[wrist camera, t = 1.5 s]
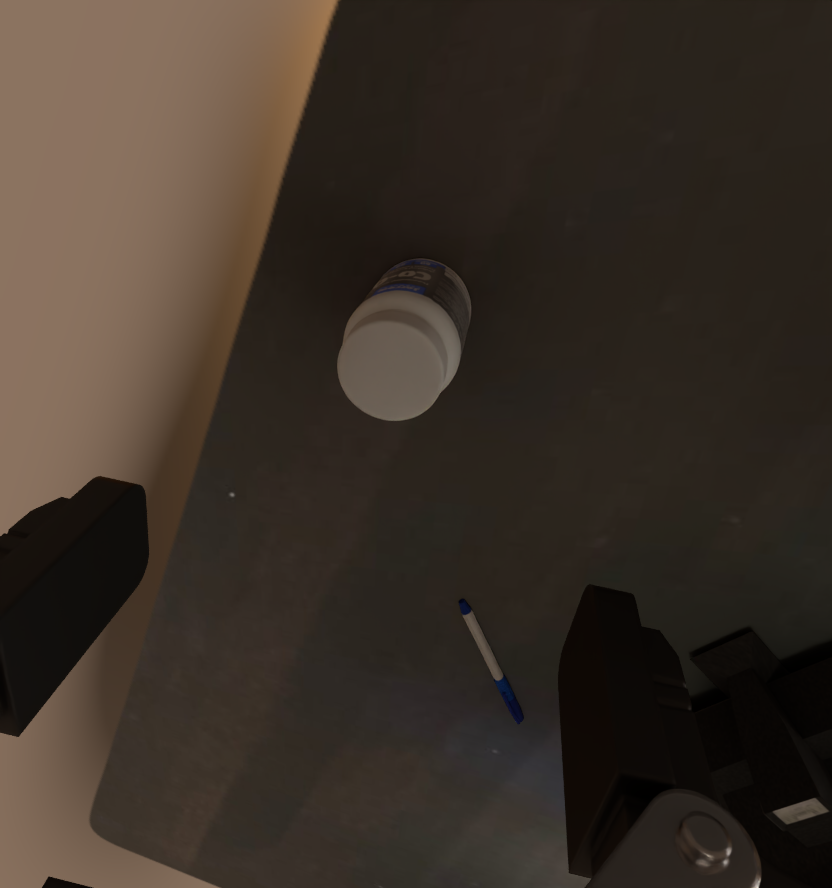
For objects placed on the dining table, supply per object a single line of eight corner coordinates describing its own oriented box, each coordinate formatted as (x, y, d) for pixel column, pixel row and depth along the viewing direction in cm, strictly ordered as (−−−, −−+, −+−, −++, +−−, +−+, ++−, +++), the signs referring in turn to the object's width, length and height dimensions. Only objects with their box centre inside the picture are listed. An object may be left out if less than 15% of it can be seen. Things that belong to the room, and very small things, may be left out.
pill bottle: (437, 236, 29) (407, 283, 22) (490, 323, 31) (480, 394, 23) (353, 290, 31) (300, 351, 24) (408, 370, 33) (374, 450, 25)
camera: (805, 1091, 34) (646, 985, 28) (718, 811, 46) (595, 700, 41) (1178, 1041, 27) (1059, 892, 22) (961, 730, 39) (852, 586, 34)
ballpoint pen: (528, 714, 43) (528, 726, 42) (515, 716, 43) (515, 729, 42) (466, 595, 39) (464, 607, 38) (452, 599, 39) (451, 610, 38)
